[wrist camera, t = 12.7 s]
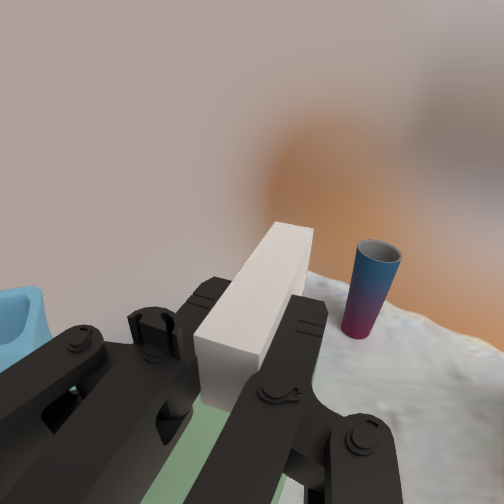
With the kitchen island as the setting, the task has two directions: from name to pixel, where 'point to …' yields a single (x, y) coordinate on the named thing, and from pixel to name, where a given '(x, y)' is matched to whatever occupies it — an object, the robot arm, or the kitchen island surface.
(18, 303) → the vase
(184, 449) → the mat
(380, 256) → the cup
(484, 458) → the kitchen island surface
